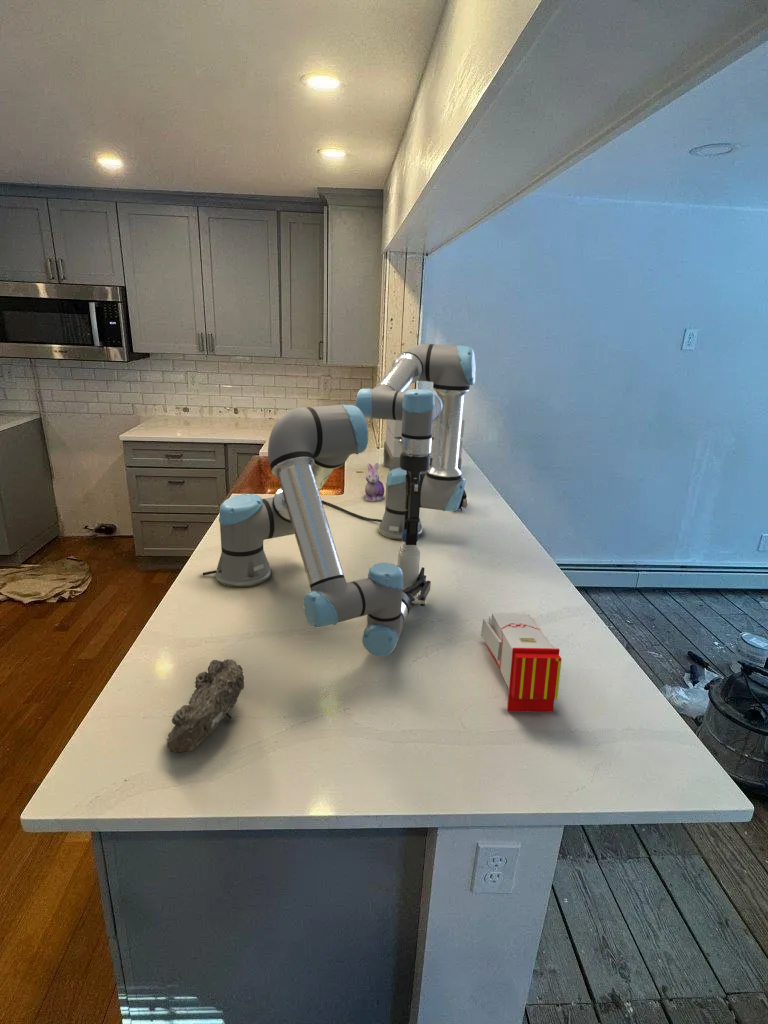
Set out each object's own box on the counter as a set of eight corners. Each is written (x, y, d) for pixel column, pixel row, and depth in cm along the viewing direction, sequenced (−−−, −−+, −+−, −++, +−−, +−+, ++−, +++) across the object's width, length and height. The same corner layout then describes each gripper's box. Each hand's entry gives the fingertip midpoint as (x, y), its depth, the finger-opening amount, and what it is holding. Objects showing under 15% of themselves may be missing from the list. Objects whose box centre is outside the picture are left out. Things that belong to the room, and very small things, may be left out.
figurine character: (467, 516, 223) (461, 500, 237) (469, 499, 220) (463, 483, 233) (450, 516, 223) (446, 499, 236) (452, 498, 220) (447, 483, 233)
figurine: (369, 503, 229) (370, 467, 224) (358, 496, 237) (359, 461, 232) (389, 500, 233) (391, 465, 228) (378, 493, 242) (380, 459, 236)
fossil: (192, 660, 117) (244, 628, 112) (224, 691, 120) (276, 661, 115) (142, 746, 98) (202, 712, 93) (182, 779, 101) (242, 748, 96)
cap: (404, 535, 151) (405, 527, 151) (420, 538, 150) (421, 530, 149) (399, 541, 147) (399, 533, 147) (415, 544, 146) (415, 536, 145)
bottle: (421, 600, 155) (426, 533, 148) (408, 608, 151) (412, 540, 144) (403, 593, 159) (407, 527, 152) (390, 600, 154) (394, 533, 148)
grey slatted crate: (382, 463, 289) (386, 382, 275) (445, 464, 293) (451, 384, 279) (390, 482, 257) (394, 392, 243) (460, 483, 261) (468, 394, 247)
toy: (527, 598, 138) (570, 654, 108) (522, 650, 141) (563, 718, 111) (477, 597, 137) (507, 653, 108) (474, 649, 140) (502, 717, 111)
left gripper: (354, 617, 139) (377, 577, 160) (430, 630, 135) (443, 587, 156) (355, 590, 137) (378, 553, 158) (433, 602, 133) (446, 562, 154)
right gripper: (397, 444, 150) (393, 525, 157) (403, 463, 131) (397, 554, 139) (426, 444, 150) (420, 526, 158) (435, 464, 132) (428, 554, 140)
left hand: (411, 570), depth 157 cm, fingers closed on bottle, 6 cm apart
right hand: (409, 538), depth 149 cm, fingers open, 6 cm apart
